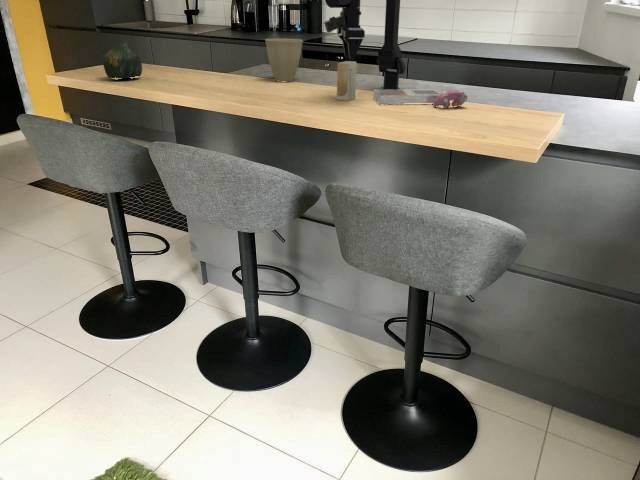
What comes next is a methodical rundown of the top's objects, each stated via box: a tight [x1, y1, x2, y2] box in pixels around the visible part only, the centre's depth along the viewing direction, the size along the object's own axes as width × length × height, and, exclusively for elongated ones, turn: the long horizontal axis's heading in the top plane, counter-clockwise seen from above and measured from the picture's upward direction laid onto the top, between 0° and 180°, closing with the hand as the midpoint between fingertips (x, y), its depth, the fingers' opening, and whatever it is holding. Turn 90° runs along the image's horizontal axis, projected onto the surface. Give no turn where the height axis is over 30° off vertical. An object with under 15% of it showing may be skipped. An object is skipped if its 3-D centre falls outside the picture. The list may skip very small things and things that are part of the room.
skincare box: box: [336, 60, 358, 102], centre depth 174 cm, size 6×4×12 cm
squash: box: [102, 41, 143, 79], centre depth 206 cm, size 14×15×15 cm
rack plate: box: [373, 88, 442, 105], centre depth 174 cm, size 12×22×3 cm, turn 95°
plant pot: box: [264, 38, 304, 82], centre depth 208 cm, size 15×15×16 cm
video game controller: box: [432, 89, 468, 108], centre depth 165 cm, size 10×5×7 cm, turn 106°
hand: (349, 59), depth 171 cm, fingers open, 9 cm apart
